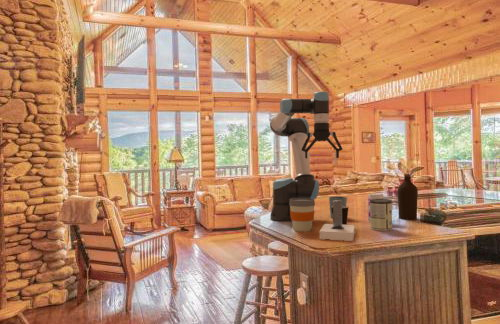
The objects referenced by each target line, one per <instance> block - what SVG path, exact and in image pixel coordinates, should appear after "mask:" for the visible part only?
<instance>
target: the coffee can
mask: <svg viewBox="0 0 500 324" xmlns="http://www.w3.org/2000/svg"><path fill="white" fill-rule="evenodd" d="M370 221H371V222H370ZM370 221H369V222H370V229H371V230H373V231H379V232H380V231H383V232H386V231H387V232H388V231H392V230H393V200H392V199H389V198H388V199H387V198H384V199H372V200H370Z"/></svg>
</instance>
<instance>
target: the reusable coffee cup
mask: <svg viewBox="0 0 500 324" xmlns="http://www.w3.org/2000/svg"><path fill="white" fill-rule="evenodd" d="M315 201H316V200H315V199H311V198H293V199H290V203H289V205H290V209H291V210H290V215H291V222H292V223H291V224H292V229H293V231H295V232H303V231H304V232H311V231H312V229H313V227H312V226H313V221H314V218H315V206H316V203H315Z"/></svg>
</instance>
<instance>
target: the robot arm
mask: <svg viewBox="0 0 500 324" xmlns="http://www.w3.org/2000/svg"><path fill="white" fill-rule="evenodd" d="M295 114H309V115H313V122H314V123H313V132H310V124H309V122H308V120H307V119H306V118H304V117H293V116H294V115H295ZM329 122H330V96H329V92H328V91H321V90H320V91H315V92H314V93H313V97H312V98H288V97H287V98H282V99H281V100H280V103H279V111H278V113H277V115H276V116H273V117H272V119H271V120H270V122H269V128H270V130H271V131H272V132H273V134H275V135H276V136H278V137H286V138H287V137H288V141H289V142H291V147H292V153H293V161H294V167H295V175H296V176H295V177H294V178H293V177H287V178H286V177H283V178H278V179H275V180H274V181H273V182H272V202H273V203H272V209H271V212H270V215H269V216H270V220H272V221H280V222H286V221H287V222H289V221H291V222H292V220H291V215H290V210H291V209H290V205H289V203H290V199H293V198H311V199H314V200H316V199H317V197H319V193H320V182H319V179H316V178H315V176H314V174H312V172H311V167H310V166H311V161H310V157H311V156H310V155H311V154H310V152H309V151H310V150H311V148H313V146H315V144H316V143H317V142H326V141H327V143H329V144H330V146H331V147H332V148H333V149H334V150H335V151H334V165H335V166H337V163H338V162H337V161H338V159H339V158H340V151H343V146H342V145H341V143H340V141H339V139H338V137H337V134H336V131H333V132H330V123H329ZM330 136H331V137H333V139H334V141H335V143H336V145H337V146H336V145H335V144H334V143H333V142H332V140H331V139H330V138H329V137H330ZM312 137H314V138H313V139H312V141H311V142H310V143H309V141H310V139H311V138H312ZM308 144H309V145H308Z"/></svg>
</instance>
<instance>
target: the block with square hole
mask: <svg viewBox="0 0 500 324" xmlns="http://www.w3.org/2000/svg"><path fill="white" fill-rule="evenodd" d="M355 230H356V225H355V224H347V225H342V229H333V223H324V224H323V225H322V226H321V229H320V230H319V240H325V239H330V240H331V241H343V240H344V241H345V242H347V241H348V242H353V241H354V238H355V233H356V231H355ZM330 240H329V241H330ZM344 241H343V242H344Z"/></svg>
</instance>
